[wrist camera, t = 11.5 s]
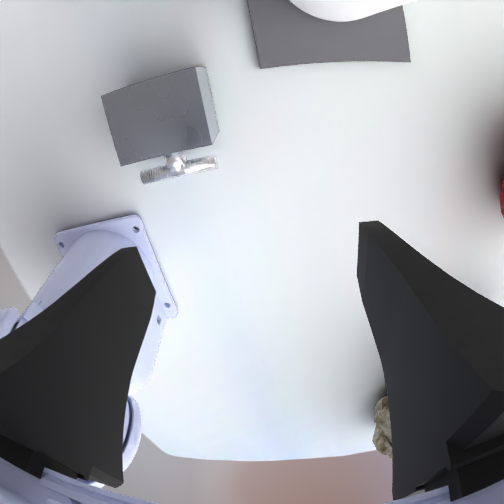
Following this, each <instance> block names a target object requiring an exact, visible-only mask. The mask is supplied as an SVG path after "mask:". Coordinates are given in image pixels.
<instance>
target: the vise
mask: <svg viewBox="0 0 504 504" xmlns="http://www.w3.org/2000/svg"><path fill="white" fill-rule="evenodd" d="M101 98H102V102H103V106H104V109H105V113H106V117H107V120H108V124H109V128H110V131H111V135H112V138H113V141H114V145H115V148H116V151H117V155H118V158H119V161H120V164H121V166H124V165H128V164H132V163H135V162H139V161H143V160H147V159H151V158H155V157H159V156H163V155H164V159H165V163H166V165H165V166H161V167H156V168H152V169H148V170H144V171H141V180H142V182H143V184H147V183H152V182H156V181H161V180H165V179H170V178H174V177H179V176H184V175H189V174H194V173H199V172H204V171H209V170H214V169H218V164H217V159H216V156H215V155H212V156H207V157H202V158H197V159H192V160H187V159H186V155H185V151H184V150H189V149H193V148H198V147H203V146H208V145H212V144H213V142H214V140H215V138H216V136H217V134H218V133H219V127H218V122H217V117H216V113H215V108H214V103H213V99H212V94H211V89H210V84H209V79H208V75H207V70H206V67H192V68H188V69H184V70H180V71H176V72H173V73H169V74H165V75H162V76H159V77H155V78H152V79H149V80H145V81H142V82H139V83H136V84H133V85H130V86H127V87H124V88H121V89H119V90H116V91H113V92H110V93H108V94H105V95H102V96H101Z"/></svg>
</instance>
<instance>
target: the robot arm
mask: <svg viewBox="0 0 504 504" xmlns="http://www.w3.org/2000/svg"><path fill="white" fill-rule="evenodd" d="M134 226H136V227H138V228H139V230H136V229H135V228H134ZM54 239H55V242H56V244H57V246H58V248H59V250H60V252H61V254H62V256H63V258H62V260H61V261H60V262H59V264H58V265H57V266H56V268H55V269H54V270H53V272H52V273H51V274H50V276H49V277H48V279H47V280H46V281H45V283H44V284H43V286H42V287H41V288H40V290H39V291H38V293H37V294H36V296H35V297H34V299H33V300H32V302H31V303H30V305H29V306H28V307H27V309H26V310H25V311H24V312H23V313H22V315H21V316H20V317H19V315H20V312H19V311H18V310H17V309H16V308H15V307H11V308H10V309H8V308H5V309H1V310H0V504H160V503H155V502H151V501H146V500H142V499H137V498H133V497H129V496H125V495H122V494H118V493H115V492H111V491H108V490H104V489H102V488H101V487H103V486H104V485H108V486H111V487H114V488H116V487H119V486H120V485H122V484H123V471H125V470H126V468H127V467H128V466H129V465H130V463H131V461H132V460H133V458H134V456H135V454H136V452H137V449H138V446H139V442H140V438H141V431H142V424H141V413H140V408H139V406H138V404H137V402H136V401H135V400H134V399H133V398H132V397H131V395H133V394H135V393H136V392H138V391H139V390H140V389H141V388H142V387H143V386H144V385H145V384H146V383H147V381H148V380H149V378H150V376H151V374H152V372H153V369H154V365H155V361H156V357H157V353H158V349H159V345H160V342H161V338H162V334H163V330H164V327H165V323H166V319H167V318H175V317H177V314H178V310H177V308H176V306H175V303H174V301H173V299H172V296H171V294H170V292H169V289H168V287H167V284H166V282H165V280H164V277H163V275H162V272H161V270H160V267H159V265H158V262H157V260H156V257H155V255H154V252H153V250H152V247H151V244H150V242H149V239H148V237H147V234H146V231H145V229H144V226H143V223H142V220H141V218H140V217H139V216H137V215H129V216H124V217H120V218H115V219H111V220H106V221H102V222H98V223H93V224H89V225H85V226H81V227H77V228H72V229H68V230H64V231H60V232H58V233H56V234H55V236H54ZM61 242H62V243H63V244H64V245H63V244H62V243H61ZM357 278H358V283H359V288H360V292H361V297H362V302H363V305H364V308H365V311H366V314H367V317H368V320H369V323H370V326H371V330H372V333H373V336H374V339H375V342H376V345H377V349H378V352H379V355H380V359H381V363H382V367H383V371H384V377H385V383H386V390H387V396H388V404H389V413H390V423H391V436H392V456H393V484H392V485H393V487H392V493H393V501H390V502H386V503H380V504H504V307H502V306H500V305H498V304H496V303H494V302H493V301H491V300H489V299H487V298H485V297H483V296H482V295H480V294H478V293H477V292H475V291H473V290H472V289H470V288H469V287H467V286H465V285H464V284H462V283H461V282H459V281H458V280H456V279H455V278H453V277H452V276H450V275H449V274H447V273H446V272H444V271H443V270H442V269H440V268H439V267H438V266H436V265H435V264H433V263H432V262H431V261H429V260H428V259H427V258H425V257H424V256H423V255H421V254H420V253H419V252H418V251H416V250H415V249H414V248H413V247H411V246H410V245H409V244H408V243H406V242H405V241H404V240H403V239H401V238H400V237H399V236H398V235H396V234H395V233H394V232H393V231H391V230H390V229H389V228H387V227H386V226H385V225H383V224H382V223H381V222H379V221H369V222H359V244H358V264H357ZM167 303H169V304H167ZM18 317H19V318H18Z"/></svg>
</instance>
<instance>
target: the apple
mask: <svg viewBox="0 0 504 504" xmlns="http://www.w3.org/2000/svg"><path fill="white" fill-rule="evenodd" d="M500 203H501V213H502V215H503V217H504V178H503V182H502V188H501V194H500Z"/></svg>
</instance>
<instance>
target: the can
mask: <svg viewBox="0 0 504 504" xmlns="http://www.w3.org/2000/svg"><path fill="white" fill-rule="evenodd" d="M289 1H290V2H292V3H293V4H294V5H295V6H297V7H298V8H299V9H301V10H302V11H304V12H306V13H308V14H310V15H312V16H315V17H317V18H320V19H324V20H329V21H337V22H346V21H354V20H358V19H362V18H365V17H368V16H371V15H373V14H376V13H379V12H382V11H385V10H388V9H391V8H394V7H397V6H400V5H404V4H407V3H410V2H414V1H417V0H289Z"/></svg>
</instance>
